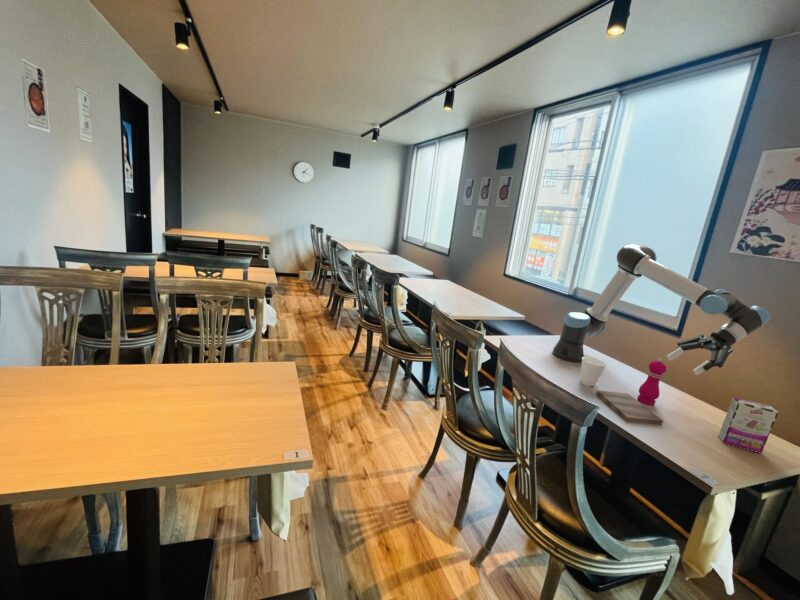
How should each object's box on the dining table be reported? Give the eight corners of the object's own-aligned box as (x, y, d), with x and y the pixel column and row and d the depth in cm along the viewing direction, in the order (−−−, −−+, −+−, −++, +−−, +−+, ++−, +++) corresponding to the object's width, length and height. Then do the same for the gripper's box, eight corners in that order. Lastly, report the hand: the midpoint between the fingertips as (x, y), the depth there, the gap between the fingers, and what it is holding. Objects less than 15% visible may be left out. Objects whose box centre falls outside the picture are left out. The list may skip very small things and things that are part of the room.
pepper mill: (659, 406, 152) (675, 362, 147) (646, 406, 150) (662, 362, 145) (644, 397, 159) (658, 354, 154) (631, 397, 157) (646, 354, 152)
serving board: (595, 394, 155) (597, 390, 154) (626, 397, 156) (628, 393, 155) (626, 421, 135) (627, 417, 135) (661, 425, 137) (663, 420, 136)
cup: (597, 391, 158) (604, 368, 155) (573, 382, 163) (579, 359, 161) (601, 384, 166) (608, 362, 163) (578, 376, 171) (584, 354, 169)
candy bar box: (754, 446, 131) (772, 405, 127) (761, 454, 127) (780, 412, 123) (716, 435, 135) (732, 396, 131) (722, 443, 130) (739, 402, 126)
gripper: (762, 354, 137) (711, 386, 139) (705, 331, 161) (662, 359, 163) (754, 339, 135) (703, 372, 137) (697, 318, 159) (655, 346, 161)
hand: (680, 365), depth 150 cm, fingers open, 13 cm apart
